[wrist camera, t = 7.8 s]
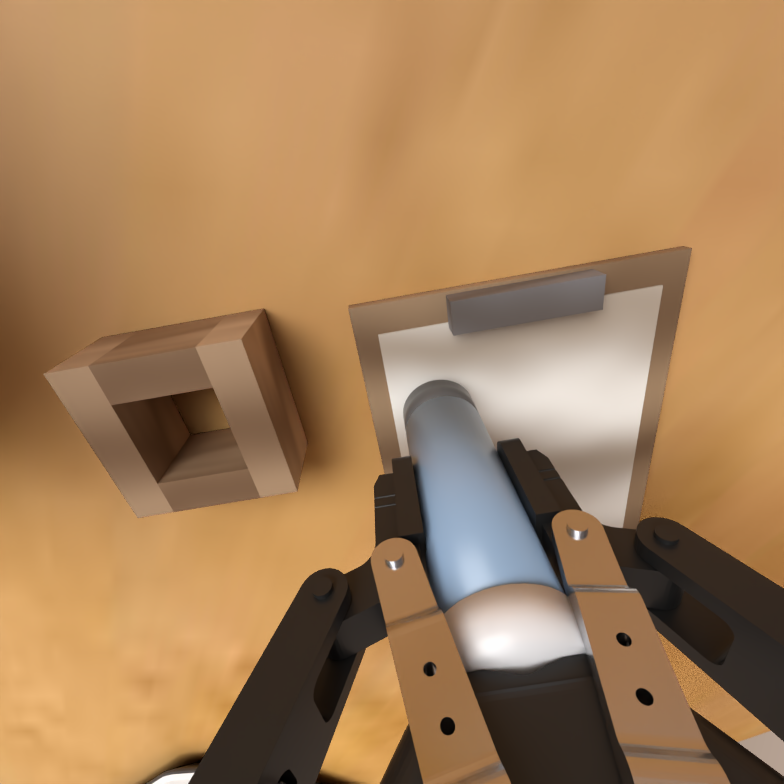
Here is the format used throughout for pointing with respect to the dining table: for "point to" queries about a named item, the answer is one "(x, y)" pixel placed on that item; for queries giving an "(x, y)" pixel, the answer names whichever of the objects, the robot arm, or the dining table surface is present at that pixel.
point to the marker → (482, 541)
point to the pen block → (164, 424)
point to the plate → (177, 775)
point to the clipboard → (541, 366)
